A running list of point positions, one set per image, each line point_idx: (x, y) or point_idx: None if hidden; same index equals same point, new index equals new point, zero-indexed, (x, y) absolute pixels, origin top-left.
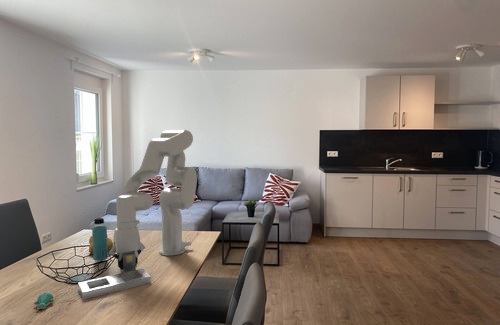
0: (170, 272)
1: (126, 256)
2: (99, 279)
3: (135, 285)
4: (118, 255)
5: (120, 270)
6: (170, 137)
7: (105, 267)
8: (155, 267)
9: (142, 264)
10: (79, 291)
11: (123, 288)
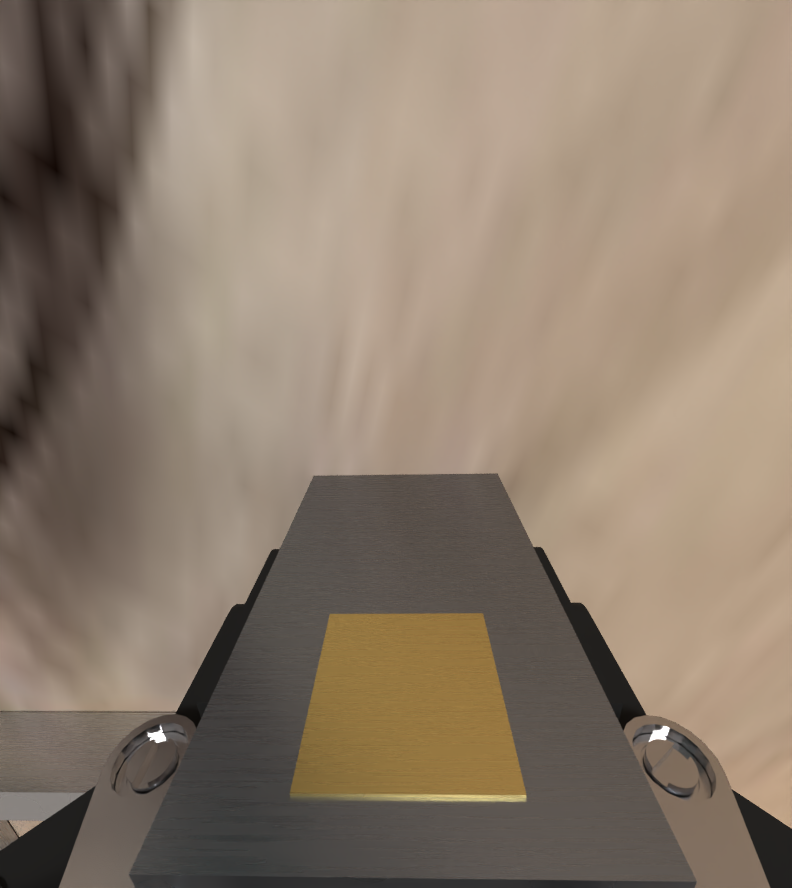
0: (768, 792)
1: None
2: (12, 819)
3: None
4: (121, 866)
5: (312, 481)
6: None
7: (66, 131)
8: (759, 612)
9: (703, 398)
10: None
11: None
